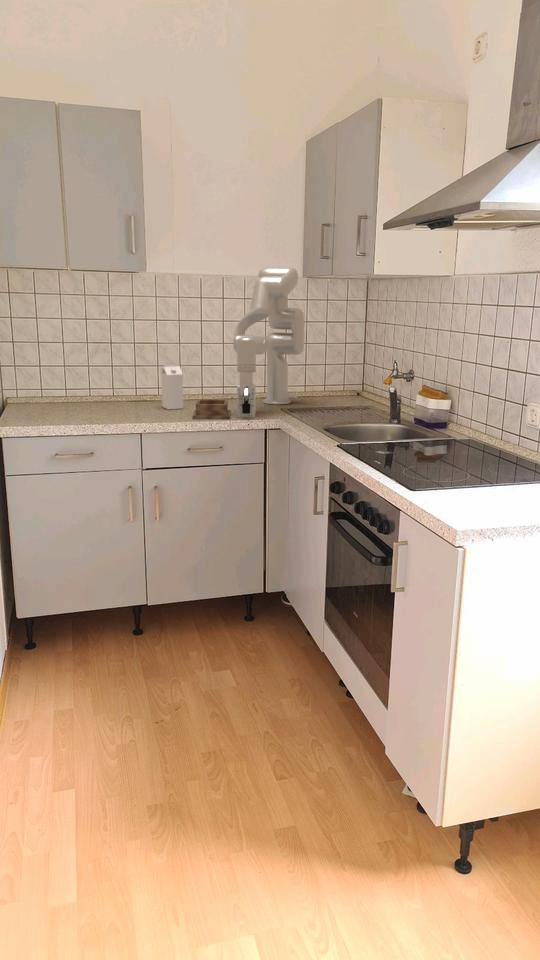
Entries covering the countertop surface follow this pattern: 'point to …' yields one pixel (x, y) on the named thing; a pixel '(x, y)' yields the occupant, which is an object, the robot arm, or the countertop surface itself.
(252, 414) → the supplement box
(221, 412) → the walnut caddy
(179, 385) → the milk carton
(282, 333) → the robot arm
